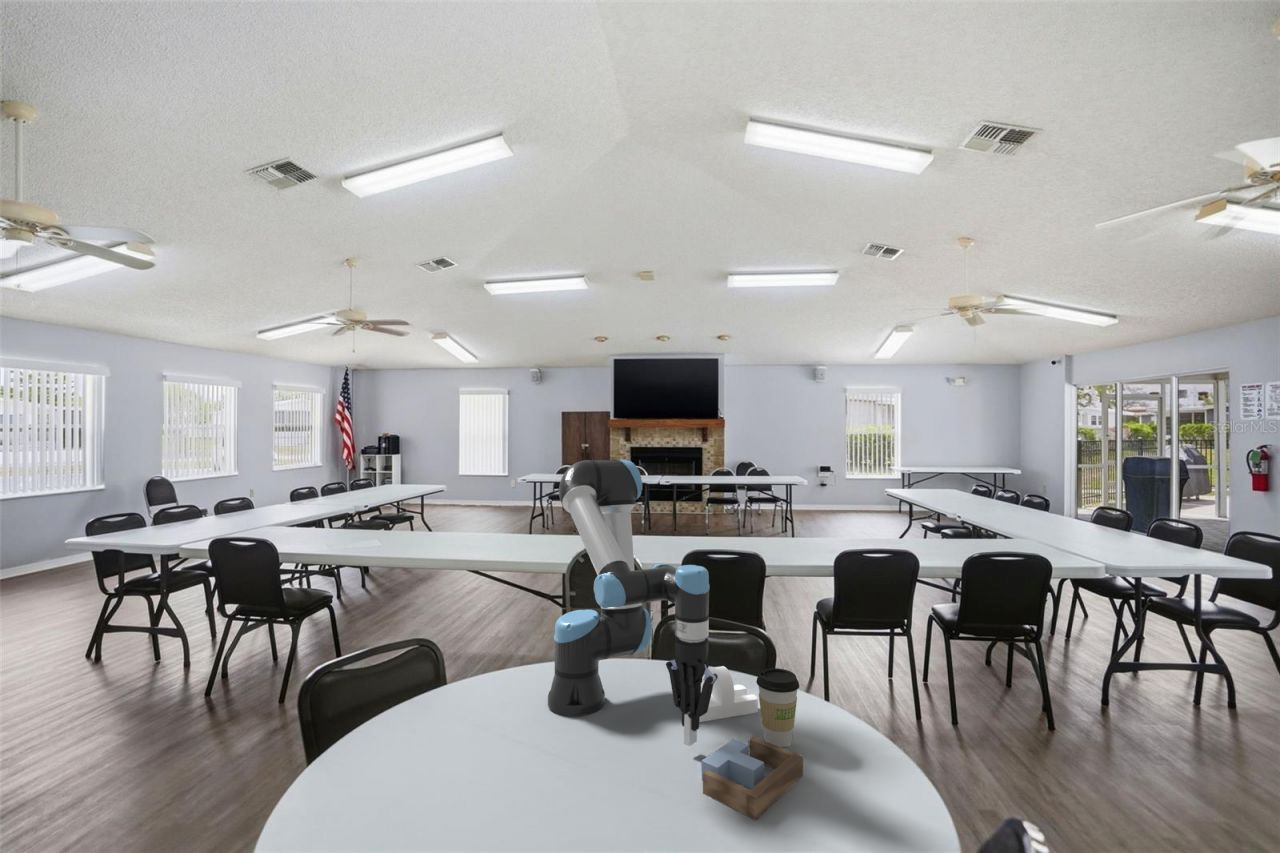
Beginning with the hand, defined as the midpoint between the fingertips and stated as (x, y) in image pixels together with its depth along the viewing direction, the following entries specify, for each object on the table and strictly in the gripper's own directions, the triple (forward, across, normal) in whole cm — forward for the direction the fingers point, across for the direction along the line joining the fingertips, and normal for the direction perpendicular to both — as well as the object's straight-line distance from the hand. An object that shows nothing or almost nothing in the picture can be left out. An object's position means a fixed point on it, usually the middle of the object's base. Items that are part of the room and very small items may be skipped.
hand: (690, 742), depth 129 cm
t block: (+2, +13, 0) cm, 13 cm away
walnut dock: (+2, +18, 0) cm, 18 cm away
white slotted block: (+3, -7, +22) cm, 24 cm away
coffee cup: (+3, +12, +19) cm, 22 cm away
